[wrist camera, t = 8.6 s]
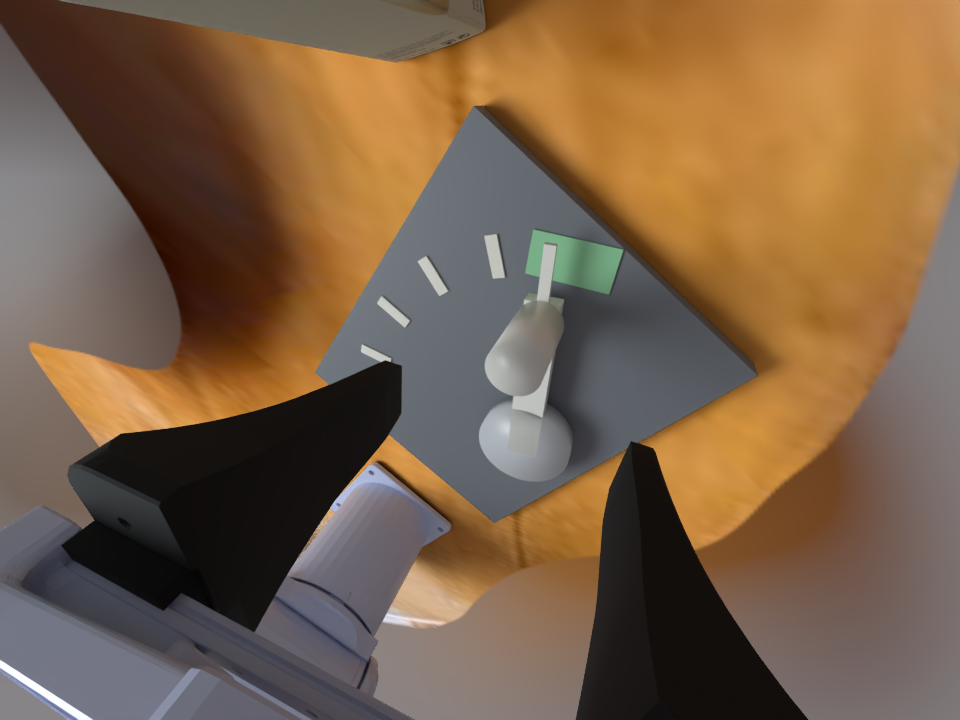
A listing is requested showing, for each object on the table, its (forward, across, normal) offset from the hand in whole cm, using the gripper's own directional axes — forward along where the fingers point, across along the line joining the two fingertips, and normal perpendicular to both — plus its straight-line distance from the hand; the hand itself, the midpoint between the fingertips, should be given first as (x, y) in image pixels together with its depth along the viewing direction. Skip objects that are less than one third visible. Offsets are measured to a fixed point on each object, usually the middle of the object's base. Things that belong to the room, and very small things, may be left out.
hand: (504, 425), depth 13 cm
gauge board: (+9, +3, +5) cm, 11 cm away
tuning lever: (+8, 0, +3) cm, 9 cm away
